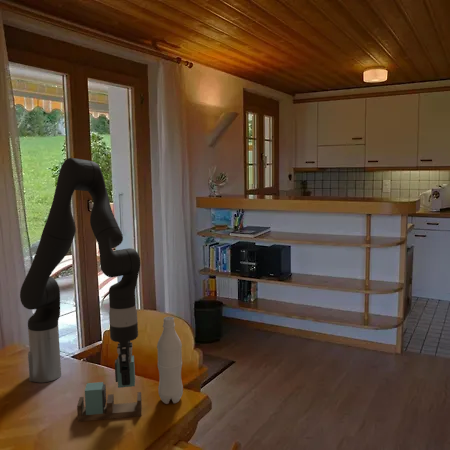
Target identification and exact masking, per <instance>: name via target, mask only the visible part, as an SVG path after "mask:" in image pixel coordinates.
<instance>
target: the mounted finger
mask: <svg viewBox="0 0 450 450" xmlns="http://www.w3.org/2000/svg"><path fill="white" fill-rule="evenodd" d="M106 389H107V387H106V383H104V381H98V382H89V383H88V382H87V383H86V385H85V388H84V407H86V415H93V414H103V410H104V407H105V405H106V403H107V390H106Z"/></svg>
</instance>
